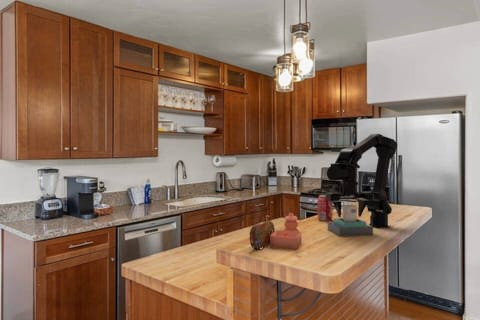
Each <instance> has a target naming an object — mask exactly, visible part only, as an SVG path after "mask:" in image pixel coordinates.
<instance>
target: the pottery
mask: <svg viewBox="0 0 480 320" xmlns="http://www.w3.org/2000/svg"><path fill="white" fill-rule="evenodd" d="M284 220H285V222H284V223H283V224H284V227H285V228H284V229H283V230H281V229H280V230H279V229H276V230H275V232H274V233H273V234H271V235H270V245H269V247H270V248H273V247H276V248H275V249H285V248H287V249H286V250H296V251H297V250H298V249H299V248H300V246H301V244H302V231H299V229H298V226H299V223H298V217H297V216H296V215H294V213H293V212H289V213H288V215H286V216H285V217H284Z"/></svg>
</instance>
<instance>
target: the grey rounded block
mask: <svg viewBox="0 0 480 320" xmlns="http://www.w3.org/2000/svg"><path fill="white" fill-rule="evenodd" d="M357 209H358V205H355V204H342V218H343V222H357V219H358V218H357V217H358V210H357Z"/></svg>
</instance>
